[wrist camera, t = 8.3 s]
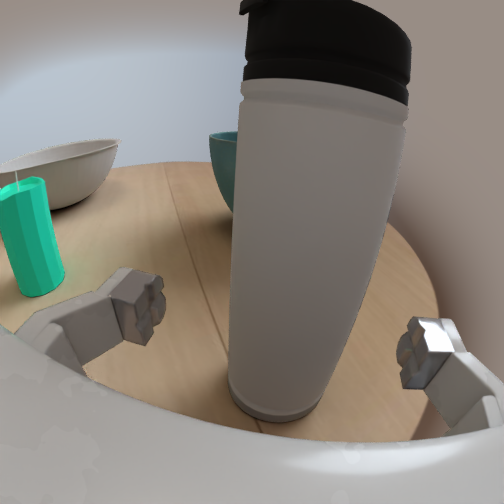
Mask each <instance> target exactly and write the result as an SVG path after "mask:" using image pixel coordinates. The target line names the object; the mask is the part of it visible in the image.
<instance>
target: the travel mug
mask: <svg viewBox="0 0 504 504" xmlns="http://www.w3.org/2000/svg"><path fill="white" fill-rule="evenodd" d="M248 12H249V17H248V31H247V39H246V49H245V58H246V60H247V61H248V63H247V65H246V66H245V67H244V73H243V82H241V94H242V95H243V96H244V100H243V101H242V102H241V103H240V106H239V120H238V136H237V152H236V169H235V188H234V207H233V229H232V253H231V279H230V311H229V351H228V386H229V391H230V394H231V396H232V398H233V400H234V401H235V402H236V404H237V405H238V406H239V407H240V408H241V409H242V410H243V411H244V412H246V413H248V414H249V415H251V416H253V417H255V418H258V419H260V420H264V421H269V422H287V421H293V420H296V419H298V418H301V417H303V416H305V415H306V414H308V413H309V412H311V411H312V410H313V409H314V408H315V407H316V405H317V404H318V402H319V400H320V399H321V397H322V395H323V393H324V391H325V388H326V386H327V384H328V382H329V380H330V378H331V376H332V374H333V372H334V370H335V367H336V365H337V363H338V361H339V358H340V356H341V354H342V352H343V349H344V347H345V344H346V342H347V340H348V337H349V335H350V332H351V330H352V327H353V325H354V322H355V320H356V317H357V315H358V312H359V309H360V307H361V304H362V301H363V298H364V296H365V293H366V290H367V287H368V284H369V281H370V278H371V275H372V272H373V269H374V266H375V263H376V259H377V256H378V253H379V249H380V246H381V243H382V239H383V236H384V232H385V228H386V225H387V221H388V217H389V213H390V209H391V204H392V200H393V196H394V191H395V187H396V183H397V178H398V173H399V168H400V162H401V157H402V151H403V146H404V140H405V133H406V130H405V128H404V126H403V122H404V121H405V120H407V118H408V110H409V109H408V107H407V106H408V96H409V93H408V90H407V89H406V85H407V84H408V83H409V81H410V71H411V48H412V47H411V42H410V40H409V38H408V37H407V35H406V33H405V32H404V31H403V30H402V29H401V28H400V27H399V26H398V25H397V24H396V23H395V22H393V21H392V20H390V19H389V18H388V17H386V16H385V15H383V14H382V13H380V12H378V11H376V10H374V9H372V8H370V7H368V6H366V5H363V4H361V3H358V2H355V1H352V0H243V1H242V2H241V3H240V12H239V14H240V15H245V14H246V13H248Z"/></svg>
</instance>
